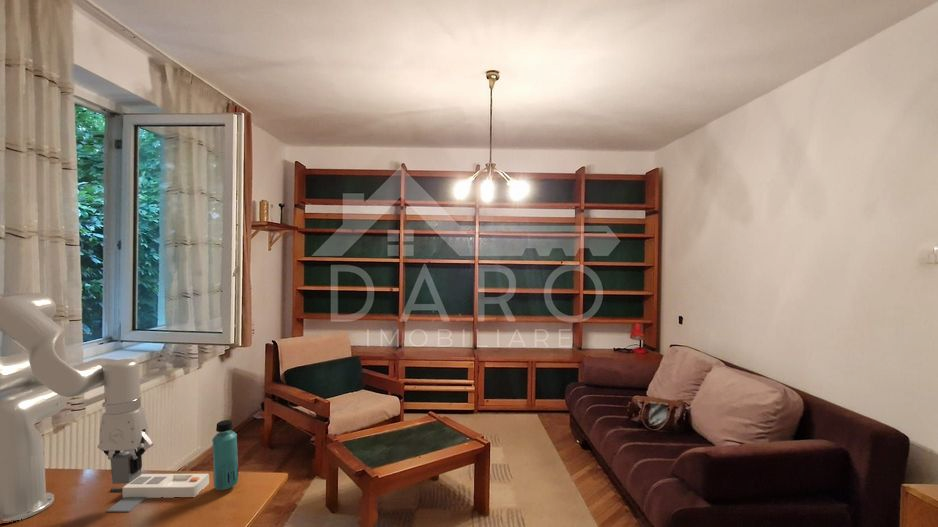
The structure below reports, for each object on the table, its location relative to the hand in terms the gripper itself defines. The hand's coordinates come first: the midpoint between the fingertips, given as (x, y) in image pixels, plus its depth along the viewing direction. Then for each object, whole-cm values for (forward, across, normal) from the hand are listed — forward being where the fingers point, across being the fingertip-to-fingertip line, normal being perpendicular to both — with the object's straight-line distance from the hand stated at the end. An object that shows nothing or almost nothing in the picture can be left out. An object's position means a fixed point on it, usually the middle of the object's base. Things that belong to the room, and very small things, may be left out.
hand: (127, 470), depth 115 cm
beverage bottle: (+10, +22, +8) cm, 26 cm away
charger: (+2, 0, 0) cm, 2 cm away
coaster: (+10, 0, 0) cm, 10 cm away
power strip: (+10, +3, +7) cm, 12 cm away
